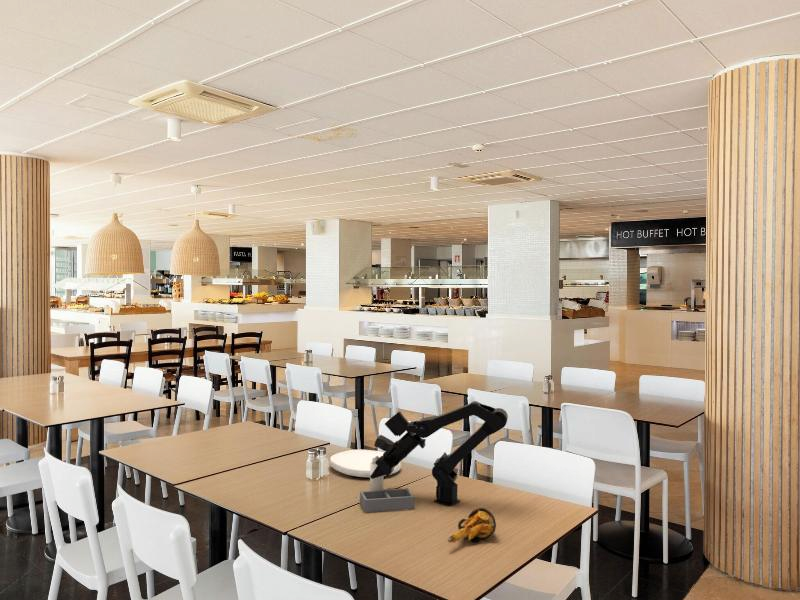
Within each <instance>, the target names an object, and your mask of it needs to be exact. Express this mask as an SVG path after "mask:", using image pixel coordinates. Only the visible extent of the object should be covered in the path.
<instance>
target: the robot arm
mask: <svg viewBox="0 0 800 600" xmlns="http://www.w3.org/2000/svg"><path fill="white" fill-rule="evenodd" d="M472 416H475V417H477V418H479V419H480V420H483V421H484V422H483V423H482V425H480V427H479V428H478V429H476V430H475V431H474V432H473V433H472V434H471V435H470V436H469V437H468V438H467V439H465V440H464V441H463V442H462V443H461V444H460V445H459V446H458V447H457V448H456V449H454V450H453V452H451V453H449V454H447V452H445V451H444V453H442V455H441V456H440V457H439V458H436V460H435V461H434V462H433V467H432V469H431V476H432V477H433V479H434V480H436V486H435V494H436V495H435V499H434V500H433V502H434V503H438V504H441V505H444V506H448V507H449V506H453V505H455V504H457V503H459V502H460V501H461V499H459V498H458V489H459V488H458V484H457V483H456V481H457V479H458V476H459V475H458V473H457V472H456V471H455V470H454V469H455V468H456V467H457V465H458V464H459V463H460V462H461V461H463V459H464V458H465V457H467V456H468V455H469V454H470V453H471V452H472V451H474V449H476V448H477V446H479V445H480V444H481V443H483V441H484V440H486V439H487V438H488V437H489V436H491V435H493V434H495V433H497V432H499V431H500V430H501V429H504V428H505V426H506V425H507V423H508V418H509V415H508V412H507V411H506V410H505V409H504V408H501V407H500V408H495V407H493V406H489V405H486V404H483V403H480V402H479V401H475V400H473V401H470V403H467V404H465V405H463V406H460V407H458V408H455V409H453V410H450V411H447V412H444V413H442V414H439V415H432V416H431V415H430V416H426V417H423V418H420V420H413V421H410V422H409V421H408V419H407V418H406V417H405V416H404V415H403V413H402V411H400V410H399V411H398V412H397V413H395V414H394V415H393V416H392V417H390V418H389V419H388V420H387V421H386V422H384V426H385V427H386V428H387V429H388V430H389V431H390V433H392V434H393V435H394V437H400V438H399V439H398V440H396V441H395V442H394V441H393V440H391V439H390V438H388V437H386V436H384V435H382V434H380V435H378V436H377V438H376V440H375V441H374V445H373V446H374V447H375V448H378V449H379V450H382V452H383V451H384V454H383V456H381V457H380V458H379V459H378V460H377V461H376V462H375V463H376V465H377V467H376V469H375V470H374V472H373V473H372V474H371V476H370V477H371V479H374V478H377V477H380V476H383V475H386V476H385V477H389V476H391V475H392V474H391V473H392V472H393V470H394V467H395V466H397V465H398V464H399V463H400V462H401V463H402V461H403V460H404V459H405V458H407V457H408V455H410V453H412V452H413V450H415V449H416V448H417V447H418V446H419V447H420V448H421V449H424V448H425V447H426V440H427V439H426V438H428V437H430V436H431V435H433V434H435V433H436V432H438V431H439V430H441V429H442V428H444V427H446V426H449V425H451V424H454V423H456V422H460V421H462V420H465V419H466V418H469V417H472ZM405 432H406V433H405ZM404 433H405V434H404ZM403 434H404V435H403ZM402 435H403V436H402ZM401 436H402V437H401ZM390 474H391V475H390ZM370 477H369V478H370ZM383 477H384V476H383Z"/></svg>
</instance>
